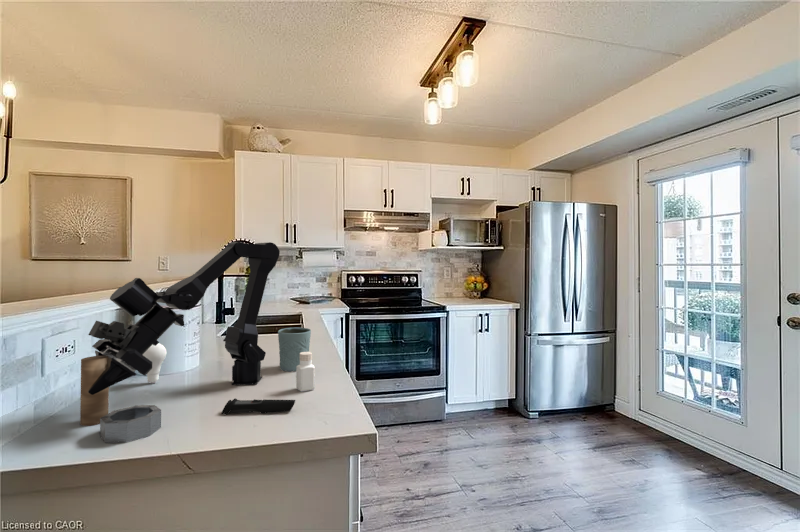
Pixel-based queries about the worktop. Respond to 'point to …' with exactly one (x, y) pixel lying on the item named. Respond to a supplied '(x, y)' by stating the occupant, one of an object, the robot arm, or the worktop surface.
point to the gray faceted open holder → (130, 423)
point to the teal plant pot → (292, 346)
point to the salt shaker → (305, 373)
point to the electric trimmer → (257, 406)
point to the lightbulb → (155, 361)
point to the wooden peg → (99, 402)
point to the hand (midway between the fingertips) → (86, 391)
